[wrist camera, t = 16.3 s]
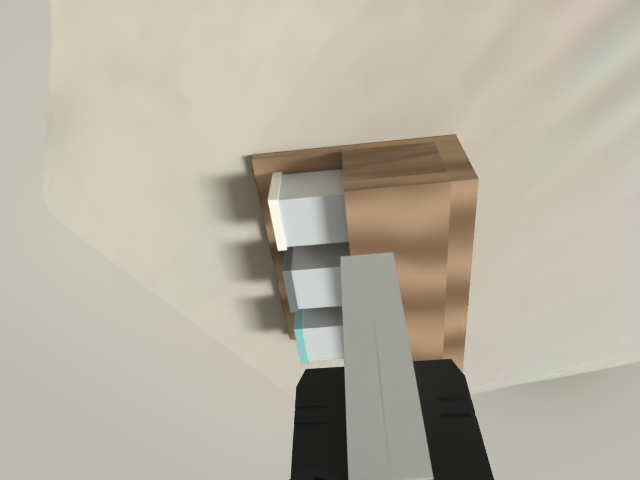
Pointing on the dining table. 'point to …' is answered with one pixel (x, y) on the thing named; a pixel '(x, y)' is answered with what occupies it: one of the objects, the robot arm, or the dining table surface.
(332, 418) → the robot arm
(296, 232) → the ivory key
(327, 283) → the charcoal key
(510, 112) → the dining table surface
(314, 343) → the teal key
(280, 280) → the key console
